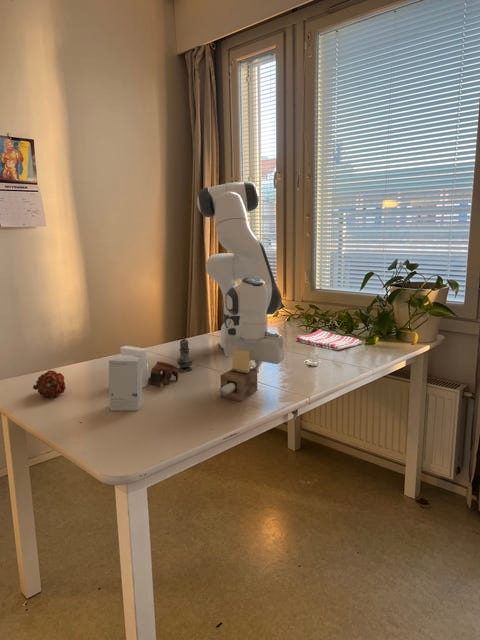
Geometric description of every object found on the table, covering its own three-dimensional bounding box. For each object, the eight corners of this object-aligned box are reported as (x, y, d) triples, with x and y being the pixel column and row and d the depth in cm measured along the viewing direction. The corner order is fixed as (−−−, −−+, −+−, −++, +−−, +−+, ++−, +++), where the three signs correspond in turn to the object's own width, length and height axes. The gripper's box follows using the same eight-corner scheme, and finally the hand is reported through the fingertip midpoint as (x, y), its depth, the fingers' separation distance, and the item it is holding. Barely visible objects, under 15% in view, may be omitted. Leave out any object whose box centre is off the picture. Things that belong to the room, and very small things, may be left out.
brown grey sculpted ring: (142, 383, 156) (150, 359, 158) (168, 391, 160) (175, 368, 162) (154, 385, 146) (162, 359, 147) (181, 394, 150) (189, 369, 151)
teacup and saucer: (314, 369, 170) (314, 358, 169) (298, 364, 176) (298, 353, 175) (330, 364, 175) (330, 353, 174) (314, 359, 181) (314, 349, 180)
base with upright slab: (154, 381, 156) (153, 346, 154) (136, 390, 149) (134, 353, 146) (134, 377, 161) (132, 343, 158) (115, 385, 153) (113, 349, 151)
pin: (246, 380, 151) (246, 368, 150) (257, 382, 149) (257, 370, 148) (218, 396, 137) (217, 383, 136) (229, 399, 135) (229, 386, 134)
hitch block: (238, 387, 151) (237, 366, 149) (257, 391, 147) (257, 369, 146) (220, 397, 142) (220, 375, 141) (240, 401, 139) (240, 378, 137)
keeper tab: (231, 371, 144) (233, 370, 145) (247, 374, 141) (249, 373, 142) (233, 348, 143) (235, 348, 144) (249, 351, 141) (251, 351, 141)
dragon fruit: (56, 407, 139) (45, 401, 149) (77, 385, 143) (64, 381, 153) (35, 388, 136) (25, 383, 145) (57, 366, 139) (46, 363, 149)
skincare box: (109, 411, 132) (106, 360, 129) (115, 403, 138) (112, 354, 135) (139, 411, 132) (136, 360, 129) (143, 403, 138) (141, 354, 135)
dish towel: (319, 335, 218) (319, 328, 218) (362, 345, 202) (362, 337, 201) (294, 342, 207) (295, 334, 206) (338, 352, 190) (339, 344, 189)
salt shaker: (190, 372, 165) (189, 339, 163) (174, 371, 167) (173, 338, 164) (195, 367, 171) (194, 335, 169) (179, 366, 172) (178, 334, 170)
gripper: (288, 332, 144) (287, 375, 147) (231, 325, 155) (231, 365, 157) (278, 336, 139) (278, 381, 142) (220, 328, 149) (221, 370, 152)
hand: (253, 372), depth 150 cm, fingers closed, pressing on pin
